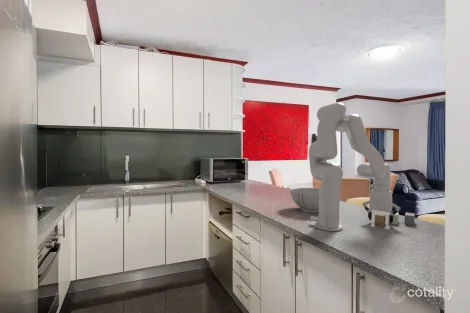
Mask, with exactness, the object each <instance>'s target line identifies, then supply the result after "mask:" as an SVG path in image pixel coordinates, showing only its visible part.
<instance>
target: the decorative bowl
mask: <svg viewBox="0 0 470 313" xmlns="http://www.w3.org/2000/svg"><path fill="white" fill-rule="evenodd" d="M319 189H320V188H316V187H295V188H290V189H289V194H290V197H291V200H292V201H293V203H295V205H296V206H297V207H299V208H300V210H301V211H303V212H306V213H314V214H316V213H319Z"/></svg>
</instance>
